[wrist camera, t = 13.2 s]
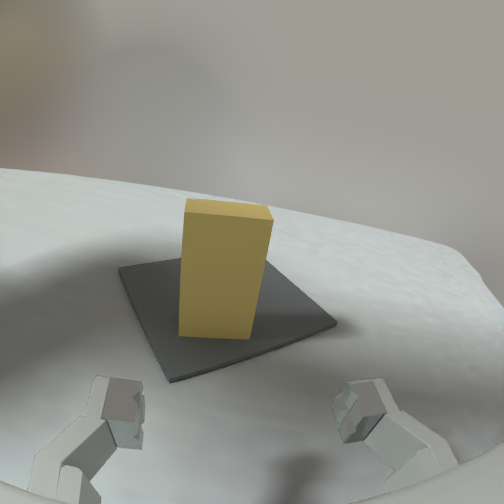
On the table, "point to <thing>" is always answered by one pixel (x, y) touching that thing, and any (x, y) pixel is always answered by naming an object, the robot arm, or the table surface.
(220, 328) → the box
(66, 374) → the table surface
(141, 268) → the mat
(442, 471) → the robot arm
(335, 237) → the table surface
